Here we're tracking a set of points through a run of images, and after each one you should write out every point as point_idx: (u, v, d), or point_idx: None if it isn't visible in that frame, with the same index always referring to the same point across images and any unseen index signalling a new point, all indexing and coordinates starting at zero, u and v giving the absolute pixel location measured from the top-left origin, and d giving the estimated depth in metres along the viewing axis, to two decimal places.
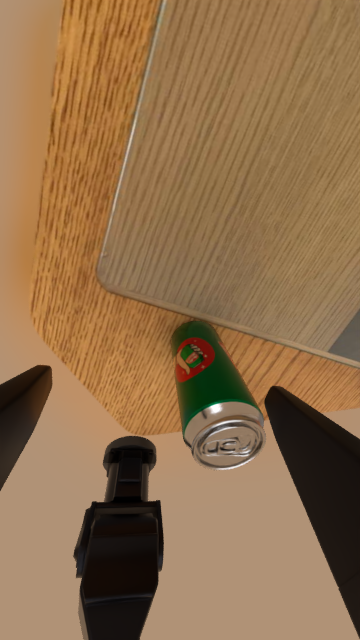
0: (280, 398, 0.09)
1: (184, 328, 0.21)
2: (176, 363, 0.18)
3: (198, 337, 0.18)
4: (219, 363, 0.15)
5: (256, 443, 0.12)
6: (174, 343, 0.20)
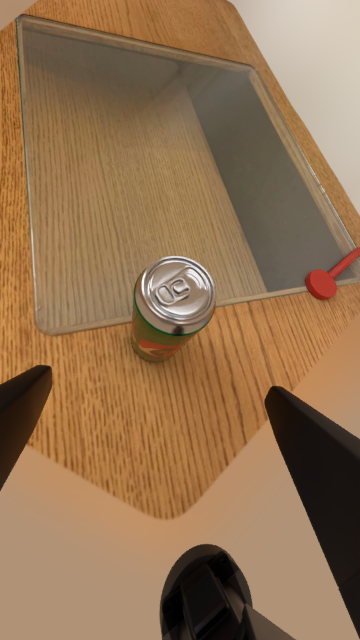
0: (280, 398, 0.09)
1: None
2: (132, 330, 0.18)
3: None
4: None
5: (201, 275, 0.13)
6: (131, 336, 0.20)
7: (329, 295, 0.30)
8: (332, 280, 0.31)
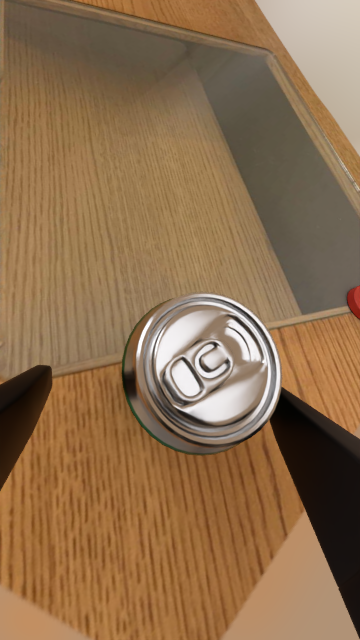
0: (280, 398, 0.09)
1: None
2: None
3: None
4: None
5: (251, 331, 0.07)
6: None
7: None
8: None
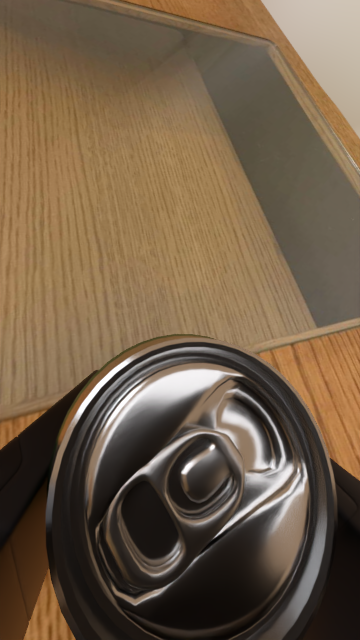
0: None
1: None
2: None
3: None
4: None
5: (274, 407, 0.04)
6: None
7: None
8: None
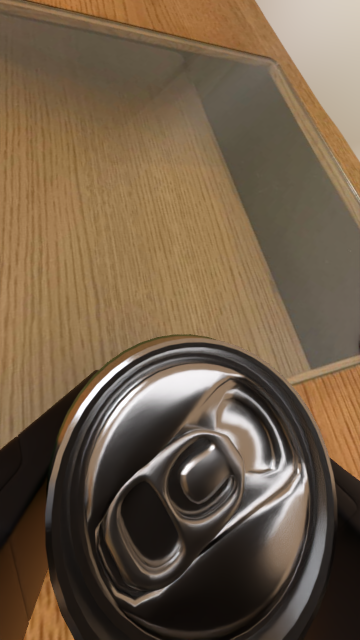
0: None
1: None
2: None
3: None
4: None
5: (273, 407, 0.04)
6: None
7: None
8: None
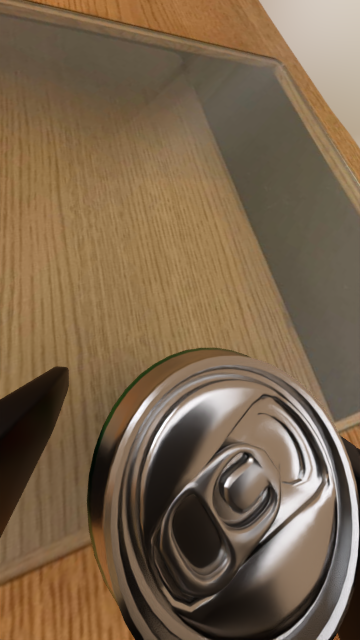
0: None
1: None
2: None
3: None
4: None
5: (303, 422, 0.04)
6: None
7: None
8: None
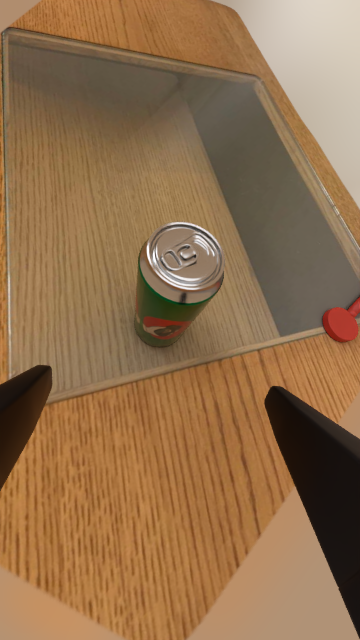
0: (280, 398, 0.09)
1: None
2: (136, 309, 0.17)
3: None
4: None
5: (209, 242, 0.12)
6: None
7: (350, 338, 0.26)
8: (353, 319, 0.27)
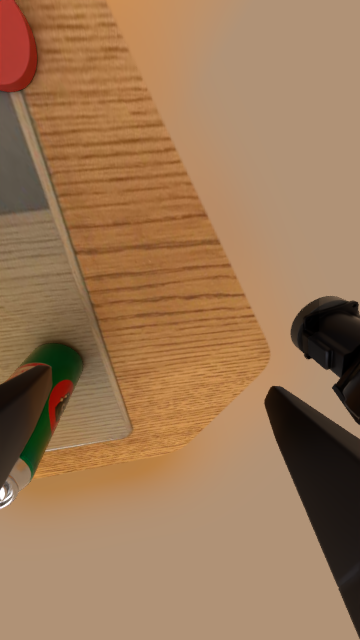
0: (280, 398, 0.09)
1: None
2: None
3: None
4: None
5: None
6: None
7: (23, 29, 0.12)
8: None
